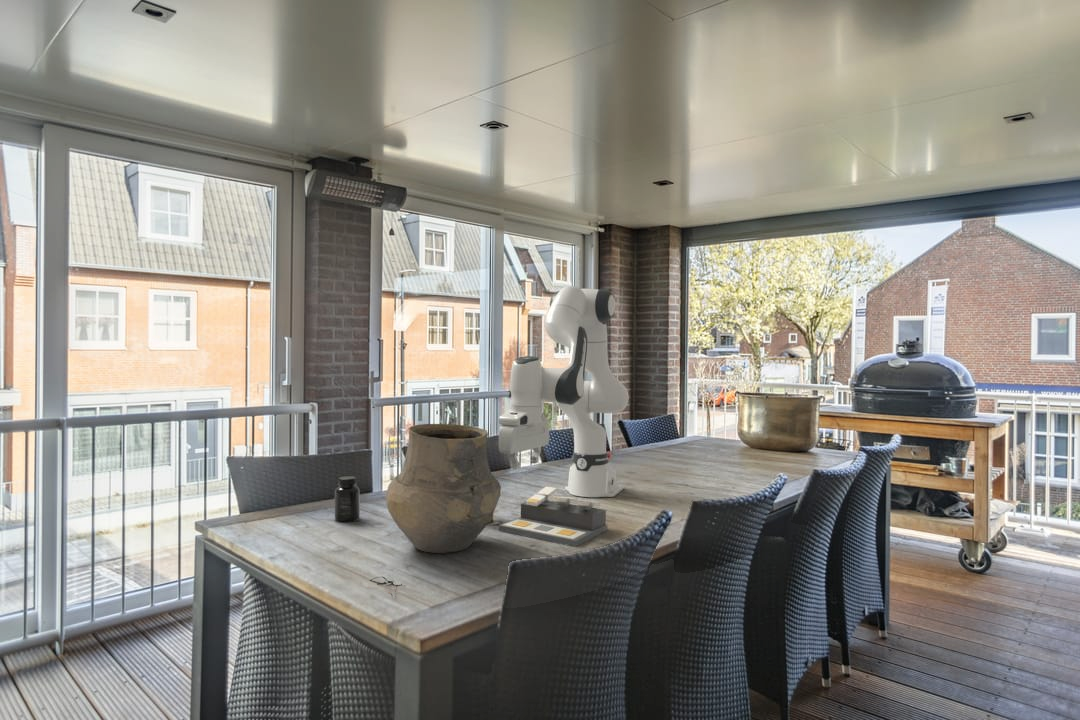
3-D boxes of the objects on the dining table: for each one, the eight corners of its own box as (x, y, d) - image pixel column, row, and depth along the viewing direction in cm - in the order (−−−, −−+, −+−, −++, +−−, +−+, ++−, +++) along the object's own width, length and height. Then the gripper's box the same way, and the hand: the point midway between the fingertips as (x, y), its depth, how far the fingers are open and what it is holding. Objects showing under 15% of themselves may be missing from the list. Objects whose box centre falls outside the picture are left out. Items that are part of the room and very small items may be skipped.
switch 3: (587, 508, 180) (588, 500, 181) (598, 510, 178) (599, 501, 179) (569, 508, 171) (570, 499, 172) (580, 510, 169) (581, 501, 170)
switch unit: (534, 516, 189) (534, 498, 188) (607, 530, 176) (607, 510, 176) (498, 530, 173) (498, 510, 173) (575, 546, 161) (576, 525, 160)
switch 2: (566, 505, 184) (567, 496, 184) (577, 506, 182) (578, 498, 182) (546, 504, 175) (548, 495, 175) (558, 506, 173) (559, 497, 173)
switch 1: (546, 493, 188) (545, 486, 188) (557, 495, 186) (556, 487, 186) (526, 508, 179) (525, 500, 179) (537, 510, 177) (536, 502, 177)
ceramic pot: (447, 524, 179) (449, 418, 178) (524, 545, 161) (526, 427, 160) (362, 547, 157) (363, 426, 156) (439, 575, 139) (441, 438, 138)
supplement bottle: (364, 518, 184) (364, 476, 184) (348, 523, 178) (348, 481, 177) (346, 515, 187) (346, 474, 186) (329, 520, 180) (329, 478, 180)
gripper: (536, 411, 185) (535, 458, 185) (494, 418, 168) (494, 470, 168) (555, 413, 181) (554, 461, 182) (514, 420, 164) (513, 473, 165)
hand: (525, 465), depth 175 cm, fingers open, 8 cm apart
